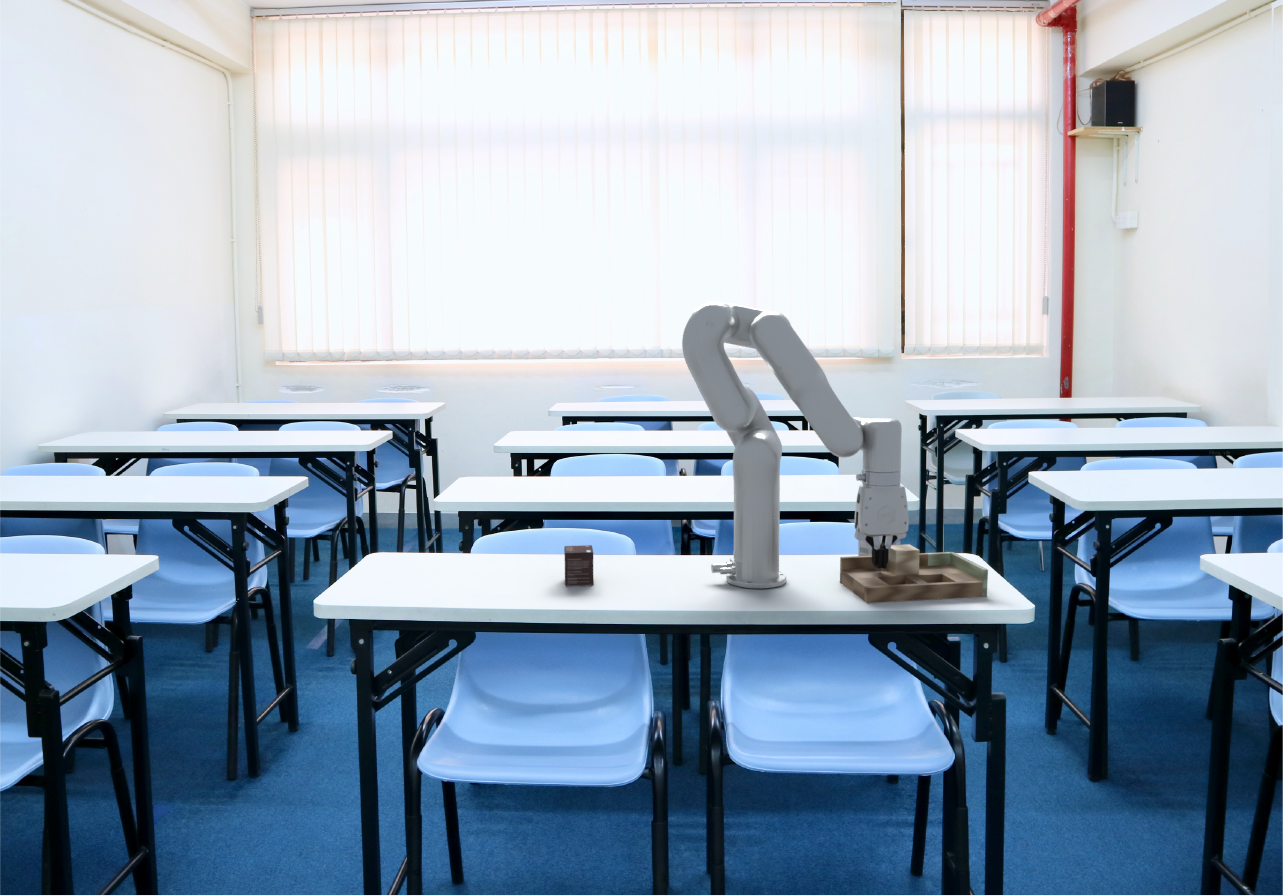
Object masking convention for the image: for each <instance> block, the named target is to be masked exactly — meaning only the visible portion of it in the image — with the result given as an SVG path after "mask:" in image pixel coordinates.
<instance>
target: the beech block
mask: <svg viewBox="0 0 1283 896" xmlns="http://www.w3.org/2000/svg"><path fill="white" fill-rule="evenodd" d="M920 552H921V551H920V549H918V548H917V547H915V546H913V545H911V544H909V543H908V544H900V545H891V548H890V549H889V555H888V563H887V567H886V569H887V570H889V571H890V572H892V573H893V574H895V575H907V574H919V553H920Z"/></svg>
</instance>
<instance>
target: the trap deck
mask: <svg viewBox="0 0 1283 896" xmlns="http://www.w3.org/2000/svg"><path fill="white" fill-rule="evenodd" d="M839 564H840V565H839V568H840V569H839V583H840V584H841V585H842V584H843V585H842V586H844V587H845V588H847V589H848V590H849V591H851V592H852V593H853V594H854V595H855V596H857V597H858V598H859V599H861V600H862V601H863V602H865V603H867V604H870V603H871V604H873V603H874V604H875V603H890V602H891V603H892V602H893V603H894V602H895V603H896V602H908V601H909V602H910V601H926V600H927V601H929V600H931V601H932V600H948V599H964V598H965V599H967V598H968V599H969V598H987V597H988V578H989V569H987V568H986V567H983V566H981V565H979V564H978V563H976V562H974V561H972V560H970V559H968V558H966V557H964V556H962V555H960V554H959V553H956V552H954V551H945V552H944V551H943V552H924V553H922V552H921V553H919V574H907V575H895V574H893V573H892V572H890V571H889V570H887V569H886V568H880V569H878V568H877V567H875V566H874V565H873V563H872V556H858V555H855V556H854V555H853V556H852V555H851V556H840V561H839Z"/></svg>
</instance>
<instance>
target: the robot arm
mask: <svg viewBox="0 0 1283 896" xmlns="http://www.w3.org/2000/svg"><path fill="white" fill-rule="evenodd" d="M681 340H682V342H681V347H682V353H683V358H684V361H685V364H686V366H687V367H688V371H689V372H690V374H691V377H692V378H693V380H694V383H695V384H696V386H697V388H698V391H699V392H700V394H701V396H702V398H703V401H704V402H705V404H706V406H707V408H708V411H709V412H710V414H711V417H712V418H713V421H714V422H715V424H716V425H717V427H719V428H720V429H722V430H723V431H726V434H727V436H728V437H729V438H730V441H731V443H732V445H733V446H734V451H733V454H732V455H733V456H732V474H733V475H732V476H733V557H729V561H726V562H725V563H711V565H710V569H711V573H712V574H715V573H716V574H718V573H719V575H726V578H725V580H726V582H727V583H728V584H730V585H733V586H735V587H739V588H745V589H746V588H747V589H771V588H777V587H778V588H779V587H780V586H783V585H785V584H786V583H787V575H785V573H783V572H781V571H780V515H781V514H780V513H781V511H780V510H781V509H780V506H781V505H780V504H781V503H780V501H781V500H780V499H781V498H780V497H781V496H780V495H781V494H780V493H781V491H780V490H781V489H780V486H781V485H780V484H781V483H780V479H781V477H780V474H781V472H780V471H781V467H780V466H781V460H782V456H783V454H782V453H783V446H782V445H783V444H782V442H781V439H780V436H779V435H778V433H777V431H776V429H775V427H774V425H773V424H772V422H771V420H770V418H769V416H768V414H767V413H766V411H765V409H764V407H763V405H762V404H761V401H760V399H759V397H757V394H756V393H755V392H754V391H753V390H752V389H751V388H750V387H748V386H746V385H744V384H743V382H742V380H741V379H740V377H739V375H738V373H737V371H736V370H735V368H734V365H733V363H732V362H731V360H730V358H729V357H728V355H727V353H726V350H725V344H730V345H733V346H739V347H742V348H743V347H745V348H750V349H755V350H756V351H757V352H758V354H759V356H760V357H761V359H763V361H764V362H765V363H766V365H767V367H768V368H769V369H770V371H771V372H772V373H773V375H774V376H775V377H776V379H777V380H778V382H779V383H780V385H781V386H782V387H783V389H784V391H785V392H786V394H787V395H788V396H789V398H790V400H791V401H792V402H793V403H794V404H795V405H796V407H797V408H798V410H799V411H800V413H801V414H802V415H803V417H804V418H805V420H806V421H807V422H808V424H809V426H810V427H811V428H812V430H813V431H814V432H815V434H816V435H817V437H818V438H819V439H820V440H821V442H822V444H823V445H824V446H825V448H826V449H827V450H828V451H829V452H830V453H831V454H832V455H833V456H836V457H837V458H841V459H842V458H845V459H846V458H851V457H852V456H855V455H856V454H857V453H858V452H859V451H862V470H861V473H857V474H855V479H856V481H860V482H861V483H862V484H859V487H858V491H857V495H856V500H855V508H854V509H855V510H854V529H855V532H854V539H856V540H857V541H858V540H861V541H866V542H867V543H868V544H869V545H870V546H871V547H872V563H873V565H874V566H875V567H877V568H878V569H880V568H886V567H887V563H888V555H889V549H890V548H891V545H892V544H893V543H894V542H895V541H896V540H898V539H900V540H901V539H905V538H906V537H907V532H908V531H909V509H908V499H907V493H906V492H907V491H906V487H905V485H904V484H901V475H902V470H901V469H902V468H901V467H902V466H901V465H902V424H901V422H900V420H898V419H897V418H893V417H891V418H890V417H873V418H863V417H856V416H855V417H854V416H851V415H850V413H849V412H848V410H847V409H846V408H845V406H844V405H843V403H842V402H841V401H840V399H839V397H838V396H837V394H836V393H835V391H834V390H833V388H832V386H831V384H830V383H829V380H828V377H827V375H826V374H825V371H824V370H823V368H822V367H821V365H820V364H819V362H818V361H817V360H816V358H815V357H814V355H813V354H812V353H811V351H810V350H809V349H808V347H807V346H806V345H805V343H804V342H803V341H802V339H801V337H799V335H798V334H797V332H796V331H795V329H794V328H793V327H792V324H791V322H790V320H789V319H788V318H787V317H786V315H784V314H782V313H781V312H778V311H772V310H764V309H758V308H753V307H748V306H744V305H738V304H734V303H728V302H724V301H718V300H712V301H711V300H710V301H707V302H705V303H703V304H701V305H700V306H698V307H697V308H696V309H695V310H694V312H693V313H692V314H691V315H690V318H689V319H688V321H687V322H686V324H685V327H684V329H683V333H682V339H681ZM879 536H882V537H881V543H880V542H879Z"/></svg>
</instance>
